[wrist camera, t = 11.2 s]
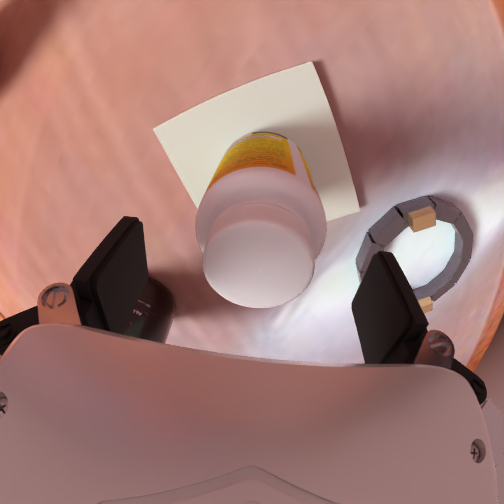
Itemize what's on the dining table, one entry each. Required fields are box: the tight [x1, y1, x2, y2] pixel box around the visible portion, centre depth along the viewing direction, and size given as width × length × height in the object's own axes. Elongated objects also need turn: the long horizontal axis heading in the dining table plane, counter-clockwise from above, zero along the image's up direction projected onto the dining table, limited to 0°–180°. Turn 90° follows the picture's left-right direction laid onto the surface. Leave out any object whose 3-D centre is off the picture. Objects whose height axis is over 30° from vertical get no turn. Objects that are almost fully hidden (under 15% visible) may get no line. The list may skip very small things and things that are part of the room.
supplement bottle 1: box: [122, 278, 176, 344], centre depth 22 cm, size 7×7×12 cm
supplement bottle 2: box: [195, 131, 327, 308], centre depth 14 cm, size 6×6×10 cm
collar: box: [356, 196, 473, 313], centre depth 21 cm, size 11×11×2 cm
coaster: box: [153, 62, 360, 221], centre depth 18 cm, size 11×11×1 cm
